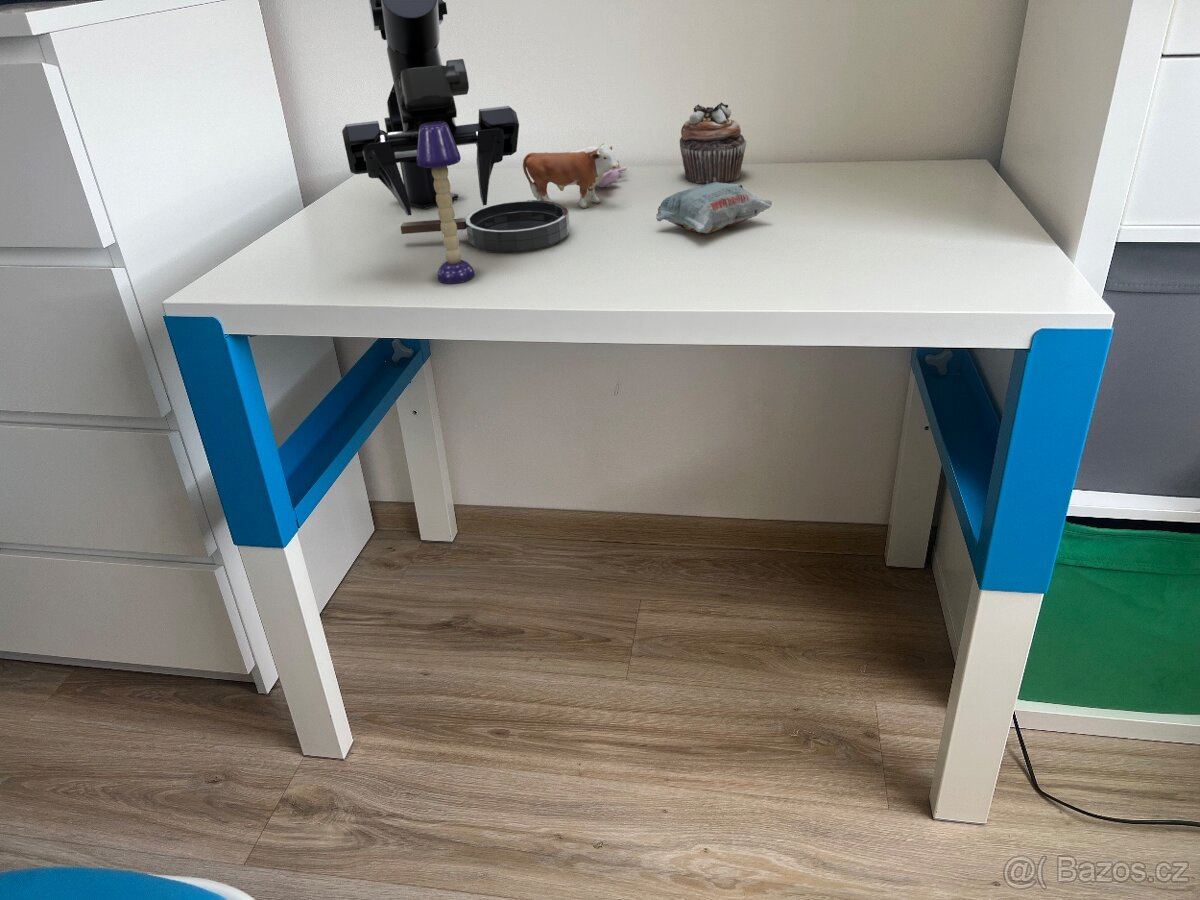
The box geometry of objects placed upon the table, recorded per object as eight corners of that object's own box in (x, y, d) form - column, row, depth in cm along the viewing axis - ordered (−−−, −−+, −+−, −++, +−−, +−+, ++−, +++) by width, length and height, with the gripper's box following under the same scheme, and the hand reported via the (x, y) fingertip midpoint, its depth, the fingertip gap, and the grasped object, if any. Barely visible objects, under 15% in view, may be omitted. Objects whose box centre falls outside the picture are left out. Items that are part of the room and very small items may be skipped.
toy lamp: (428, 276, 100) (402, 124, 91) (464, 265, 102) (442, 116, 94) (449, 287, 97) (424, 130, 88) (485, 276, 99) (464, 122, 90)
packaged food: (770, 223, 109) (772, 183, 106) (699, 246, 103) (698, 205, 100) (722, 210, 115) (723, 172, 112) (652, 231, 109) (651, 191, 107)
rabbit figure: (591, 181, 135) (571, 193, 122) (590, 140, 133) (569, 148, 119) (631, 181, 134) (615, 192, 120) (630, 140, 132) (614, 147, 118)
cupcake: (683, 187, 125) (682, 114, 119) (677, 170, 133) (676, 100, 128) (750, 183, 124) (752, 109, 119) (740, 166, 133) (741, 96, 127)
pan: (447, 242, 110) (443, 220, 109) (521, 215, 118) (518, 194, 116) (516, 261, 102) (513, 238, 101) (590, 232, 110) (589, 210, 109)
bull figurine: (618, 211, 117) (615, 148, 113) (523, 209, 120) (517, 148, 116) (625, 201, 121) (623, 140, 116) (533, 200, 124) (527, 140, 119)
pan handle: (467, 225, 110) (465, 217, 109) (465, 229, 108) (464, 221, 108) (403, 230, 110) (402, 222, 109) (401, 234, 108) (400, 226, 108)
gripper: (323, 41, 88) (350, 178, 85) (505, 24, 92) (538, 155, 88) (338, 110, 98) (362, 234, 95) (501, 92, 102) (530, 211, 99)
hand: (447, 208), depth 94 cm, fingers open, 8 cm apart
